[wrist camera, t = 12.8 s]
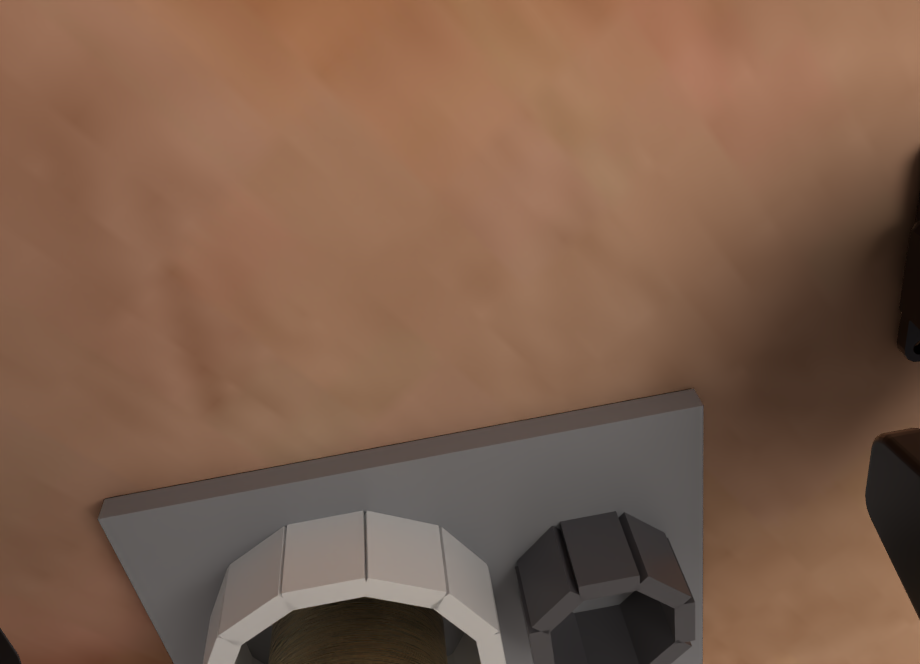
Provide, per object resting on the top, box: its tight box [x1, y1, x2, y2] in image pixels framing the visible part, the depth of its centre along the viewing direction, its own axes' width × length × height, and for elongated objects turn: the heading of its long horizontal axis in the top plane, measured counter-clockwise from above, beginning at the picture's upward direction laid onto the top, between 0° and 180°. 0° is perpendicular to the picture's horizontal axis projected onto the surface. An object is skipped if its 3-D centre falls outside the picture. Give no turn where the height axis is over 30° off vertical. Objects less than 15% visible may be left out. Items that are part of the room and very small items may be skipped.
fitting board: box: [98, 389, 704, 664], centre depth 26 cm, size 17×12×3 cm
